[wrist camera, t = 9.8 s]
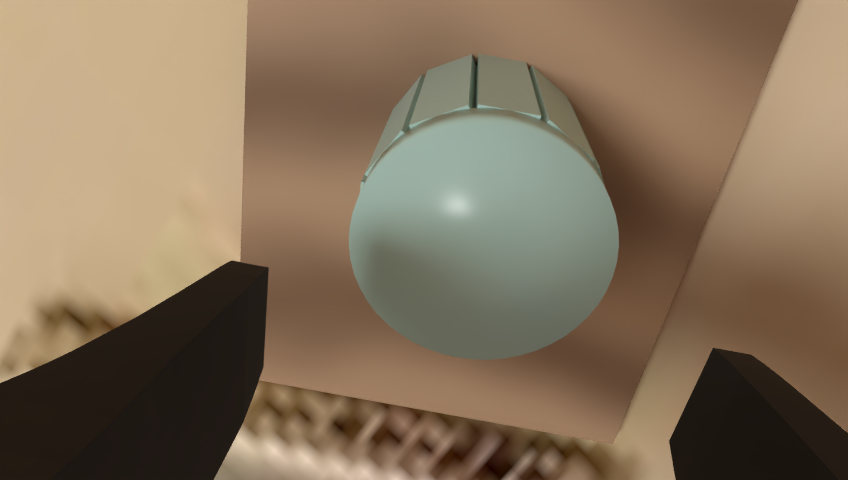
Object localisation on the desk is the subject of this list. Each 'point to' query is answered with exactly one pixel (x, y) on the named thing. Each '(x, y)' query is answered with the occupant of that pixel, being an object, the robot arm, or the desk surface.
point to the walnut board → (604, 129)
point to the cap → (483, 214)
